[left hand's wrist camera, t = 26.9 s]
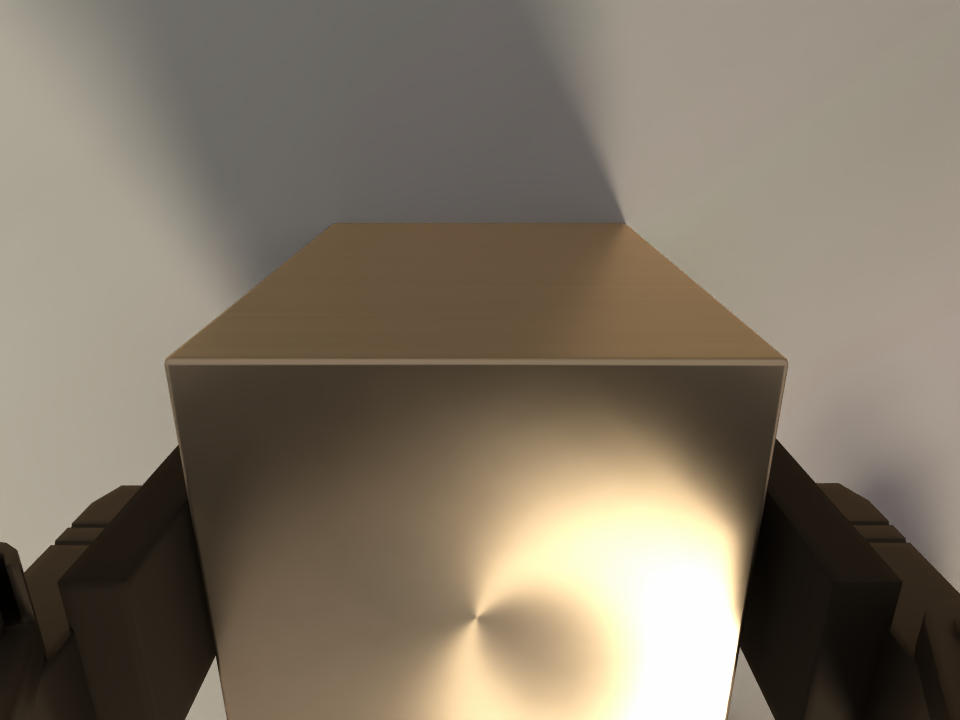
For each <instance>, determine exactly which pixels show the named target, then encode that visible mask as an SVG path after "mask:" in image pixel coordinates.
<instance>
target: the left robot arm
mask: <svg viewBox="0 0 960 720" xmlns="http://www.w3.org/2000/svg"><path fill="white" fill-rule="evenodd" d="M905 539H906V538H905V537H904V536H903V535H902V534H901V533H900V532H899V531H898V530H897V529H896V528H895V527H894V526H893V525H889V521H888V520H887V519H886V518H885V517H884V516H883V515H882V514H881V513H880V512H879V511H878V510H877V509H876V508H875V507H874V506H873V505H872V504H871V503H870V502H869V501H868V500H866V499H865V498H863V497H861V496H860V495H858V494H856V493H854V492H853V491H851V490H849V489H848V488H846V487H844V486H842V485H841V484H839V483H815V482H814V481H813V480H812V479H811V477H810V476H809V475H808V474H807V473H806V472H805V471H804V470H803V468H802V467H801V466H800V465H799V464H798V463H797V462H796V461H795V459H794V458H793V457H792V456H791V455H790V454H789V453H788V451H787V450H786V449H785V448H784V447H783V446H782V445H781V444H780V442H779V441H778V440H777V439H775V445H774V450H773V456H772V462H771V468H770V474H769V479H768V485H767V491H766V497H765V503H764V509H763V514H762V520H761V526H760V532H759V538H758V544H757V549H756V555H755V561H754V567H753V573H752V579H751V584H750V590H749V596H748V602H747V608H746V614H745V619H744V625H743V631H742V637H741V643H740V647H741V649H742V652H743V654H744V656H745V658H746V660H747V662H748V664H749V666H750V668H751V670H752V672H753V675H754V677H755V679H756V681H757V683H758V685H759V687H760V689H761V691H762V693H763V695H764V697H765V700H766V702H767V704H768V706H769V708H770V710H771V712H772V714H773V716H774V718H775V720H960V593H959V592H958V591H957V590H956V589H955V588H954V587H953V586H952V585H951V584H950V583H949V582H948V581H947V580H946V579H945V578H944V577H943V576H942V575H941V574H940V573H939V572H938V571H937V570H936V569H935V568H934V567H933V566H932V565H931V564H930V563H929V562H928V561H927V560H926V559H925V558H924V557H923V556H922V555H921V554H920V553H919V552H918V551H917V550H916V549H915V548H914V547H913V546H912V544H911V543H906V541H905ZM215 656H216V654H215V648H214V642H213V637H212V631H211V625H210V620H209V614H208V608H207V603H206V597H205V591H204V585H203V580H202V574H201V568H200V563H199V557H198V551H197V546H196V540H195V534H194V529H193V523H192V517H191V512H190V506H189V500H188V495H187V489H186V483H185V478H184V472H183V466H182V461H181V455H180V449H179V445H178V446H177V447H176V448H175V449H174V450H173V451H172V453H171V454H170V455H169V456H168V457H167V458H166V459H165V461H164V462H163V463H162V464H161V465H160V466H159V467H158V468H157V470H156V471H155V472H154V473H153V474H152V475H151V476H150V477H149V479H148V480H147V481H146V482H145V483H144V484H143V485H142V486H120V487H118V488H117V489H115V490H113V491H112V492H110V493H108V494H107V495H105V496H103V497H101V498H100V499H98V500H96V501H95V502H93V503H91V505H90V506H89V507H88V508H87V509H86V510H85V511H84V512H83V513H82V514H81V515H80V516H79V517H78V518H77V519H76V520H75V521H74V522H73V523H72V527H71V528H67V529H66V530H65V531H64V532H63V533H62V534H61V535H60V536H59V537H58V538H57V539H56V541H55V545H51V546H50V547H49V548H48V549H47V550H46V551H45V552H44V553H43V554H42V555H41V556H40V557H39V558H38V559H37V560H36V561H35V562H34V563H33V564H32V565H31V566H30V567H29V568H28V569H27V570H26V571H25V572H23V568H22V565H21V561H20V558H19V555H18V551H17V550H16V549H15V548H13V547H12V546H10V545H9V544H7V543H3V542H0V720H185V718H186V716H187V714H188V712H189V710H190V708H191V706H192V704H193V702H194V700H195V697H196V695H197V693H198V691H199V689H200V687H201V685H202V683H203V681H204V679H205V677H206V675H207V672H208V670H209V668H210V666H211V664H212V662H213V660H214V658H215Z"/></svg>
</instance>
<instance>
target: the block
mask: <svg viewBox="0 0 960 720" xmlns="http://www.w3.org/2000/svg"><path fill="white" fill-rule="evenodd" d="M787 369H788V362H787V359H786V358H785V357H784V356H783V355H781V354H780V353H779V352H778V351H777V350H775V349H774V348H773V347H772V346H771V345H769V344H768V343H767V342H766V341H765V340H763V339H762V338H761V337H760V336H759V335H757V334H756V333H755V332H754V331H753V330H752V329H750V328H749V327H748V326H747V325H746V324H744V323H743V322H742V321H741V320H740V319H738V318H737V317H736V316H735V315H734V314H732V313H731V312H730V311H729V310H728V309H726V308H725V307H724V306H723V305H722V304H720V303H719V302H718V301H717V300H716V299H715V298H713V297H712V296H711V295H710V294H709V293H707V292H706V291H705V290H704V289H703V288H701V287H700V286H699V285H698V284H697V283H695V282H694V281H693V280H692V279H691V278H689V277H688V276H687V275H686V274H685V273H683V272H682V271H681V270H680V269H679V268H678V267H676V266H675V265H674V264H673V263H672V262H670V261H669V260H668V259H667V258H666V257H664V256H663V255H662V254H661V253H660V252H658V251H657V250H656V249H655V248H654V247H652V246H651V245H650V244H649V243H648V242H647V241H645V240H644V239H643V238H642V237H641V236H639V235H638V234H637V233H636V232H635V231H633V230H632V229H631V228H630V227H629V226H627V225H626V224H624V223H334V224H332V225H331V226H330V227H329V228H327V229H326V230H325V231H324V232H323V233H321V234H320V235H319V236H318V237H316V238H315V239H314V240H313V241H311V242H310V243H309V244H308V245H306V246H305V247H304V248H303V249H301V250H300V251H299V252H298V253H296V254H295V255H294V256H293V257H291V258H290V259H289V260H288V261H286V262H285V263H284V264H283V265H282V266H280V267H279V268H278V269H277V270H275V271H274V272H273V273H272V274H270V275H269V276H268V277H267V278H265V279H264V280H263V281H262V282H260V283H259V284H258V285H257V286H255V287H254V288H253V289H252V290H250V291H249V292H248V293H247V294H246V295H244V296H243V297H242V298H241V299H239V300H238V301H237V302H236V303H234V304H233V305H232V306H231V307H229V308H228V309H227V310H226V311H224V312H223V313H222V314H221V315H219V316H218V317H217V318H216V319H214V320H213V321H212V322H211V323H209V324H208V325H207V326H206V327H205V328H203V329H202V330H201V331H200V332H198V333H197V334H196V335H195V336H193V337H192V338H191V339H190V340H188V341H187V342H186V343H185V344H183V345H182V346H181V347H180V348H178V349H177V350H176V351H175V352H173V353H172V354H171V355H170V356H169V357H167V358H166V360H165V370H166V375H167V381H168V387H169V392H170V398H171V404H172V409H173V415H174V421H175V427H176V432H177V438H178V444H179V449H180V455H181V461H182V466H183V472H184V478H185V483H186V489H187V495H188V500H189V506H190V512H191V517H192V523H193V529H194V534H195V540H196V546H197V551H198V557H199V563H200V568H201V574H202V580H203V585H204V591H205V597H206V603H207V608H208V614H209V620H210V625H211V631H212V637H213V642H214V648H215V654H216V659H217V665H218V671H219V676H220V682H221V688H222V693H223V699H224V705H225V710H226V716H227V720H727V719H728V713H729V707H730V701H731V695H732V689H733V684H734V678H735V672H736V666H737V660H738V654H739V649H740V643H741V637H742V631H743V625H744V619H745V614H746V608H747V602H748V596H749V590H750V584H751V579H752V573H753V567H754V561H755V555H756V549H757V544H758V538H759V532H760V526H761V520H762V514H763V509H764V503H765V497H766V491H767V485H768V479H769V474H770V468H771V462H772V456H773V450H774V445H775V439H776V433H777V427H778V421H779V415H780V410H781V404H782V398H783V392H784V386H785V380H786V375H787Z"/></svg>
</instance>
